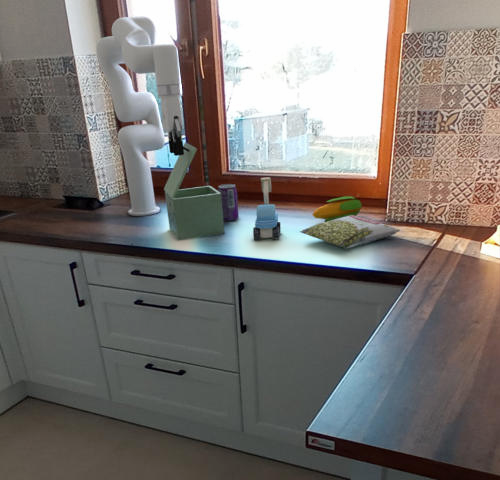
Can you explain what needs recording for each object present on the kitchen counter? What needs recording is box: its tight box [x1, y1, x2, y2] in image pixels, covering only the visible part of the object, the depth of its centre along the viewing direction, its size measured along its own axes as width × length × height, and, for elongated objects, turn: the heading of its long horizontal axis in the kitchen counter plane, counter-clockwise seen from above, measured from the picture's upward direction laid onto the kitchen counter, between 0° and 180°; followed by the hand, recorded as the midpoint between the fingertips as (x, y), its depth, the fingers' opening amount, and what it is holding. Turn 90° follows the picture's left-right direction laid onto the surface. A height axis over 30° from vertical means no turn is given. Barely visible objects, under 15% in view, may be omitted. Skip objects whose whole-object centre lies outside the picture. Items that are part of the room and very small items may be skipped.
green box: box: [164, 185, 225, 241], centre depth 201 cm, size 16×14×13 cm
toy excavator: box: [252, 177, 282, 241], centre depth 192 cm, size 9×17×17 cm, turn 174°
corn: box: [311, 195, 363, 223], centre depth 206 cm, size 7×8×20 cm
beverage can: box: [217, 183, 240, 222], centre depth 213 cm, size 7×7×12 cm
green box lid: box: [163, 142, 198, 198], centre depth 192 cm, size 17×14×5 cm
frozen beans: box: [299, 215, 401, 250], centre depth 185 cm, size 21×6×25 cm
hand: (176, 153), depth 190 cm, fingers closed on green box lid, 5 cm apart
